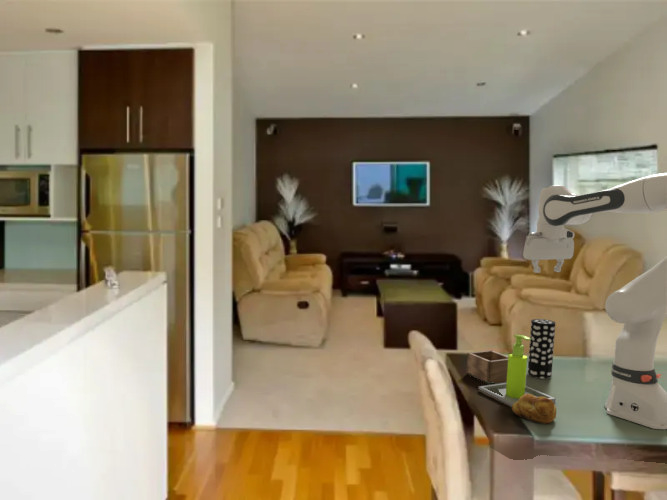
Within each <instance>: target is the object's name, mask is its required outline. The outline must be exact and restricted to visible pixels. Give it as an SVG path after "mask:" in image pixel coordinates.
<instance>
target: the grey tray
mask: <svg viewBox="0 0 667 500" xmlns="http://www.w3.org/2000/svg"><path fill="white" fill-rule="evenodd" d="M506 383H507V382H502V383H495V384H487V385H486V384H485V385H481V386H479V385H478V389H480V390H482V391H484V392H486V393H488V394H490V395H492V396H494V397H496V398H498V399H499V400H501V401H503V402H505V403H507V404H509V405H510V406H511V407H512V405H513V404H514V403H516V402H518V400H519V398H512V397H508V396H507V395H506ZM491 388H498V390H499V392H500V393H501V394H502V395H503V396H501V395H499V394H497V393H494V392H492V391H490V390H488V389H491ZM525 394H531V395H534V396H535V397H536V398H537V397H546V398H548V399H551V400H552V401H553V403H554V404H556V398H555V397H553V396H551V395H549V394H547V393H544V392H542V391H540V390H537V389H535V388H532V387H530V386H527V385H525ZM511 407H510V408H511Z"/></svg>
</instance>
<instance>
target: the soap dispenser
mask: <svg viewBox="0 0 667 500" xmlns="http://www.w3.org/2000/svg"><path fill="white" fill-rule="evenodd" d="M513 337H514V338H515V343H514V344H513V345H512V353H510V354H509V353H508V355H507V356H508V368H507V382H505V383H506V395H507V396H508V397H512V398H520V397H521V396H523V395H524V394H525V386H526V378H527V370H528V356H527V355H525V354H524V351H525V346H524V345H523V344H522V341H523V340H526V341H527V342H528V341H530V340H531V338H530V336H527V335H523V334H514V335H513Z"/></svg>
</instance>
